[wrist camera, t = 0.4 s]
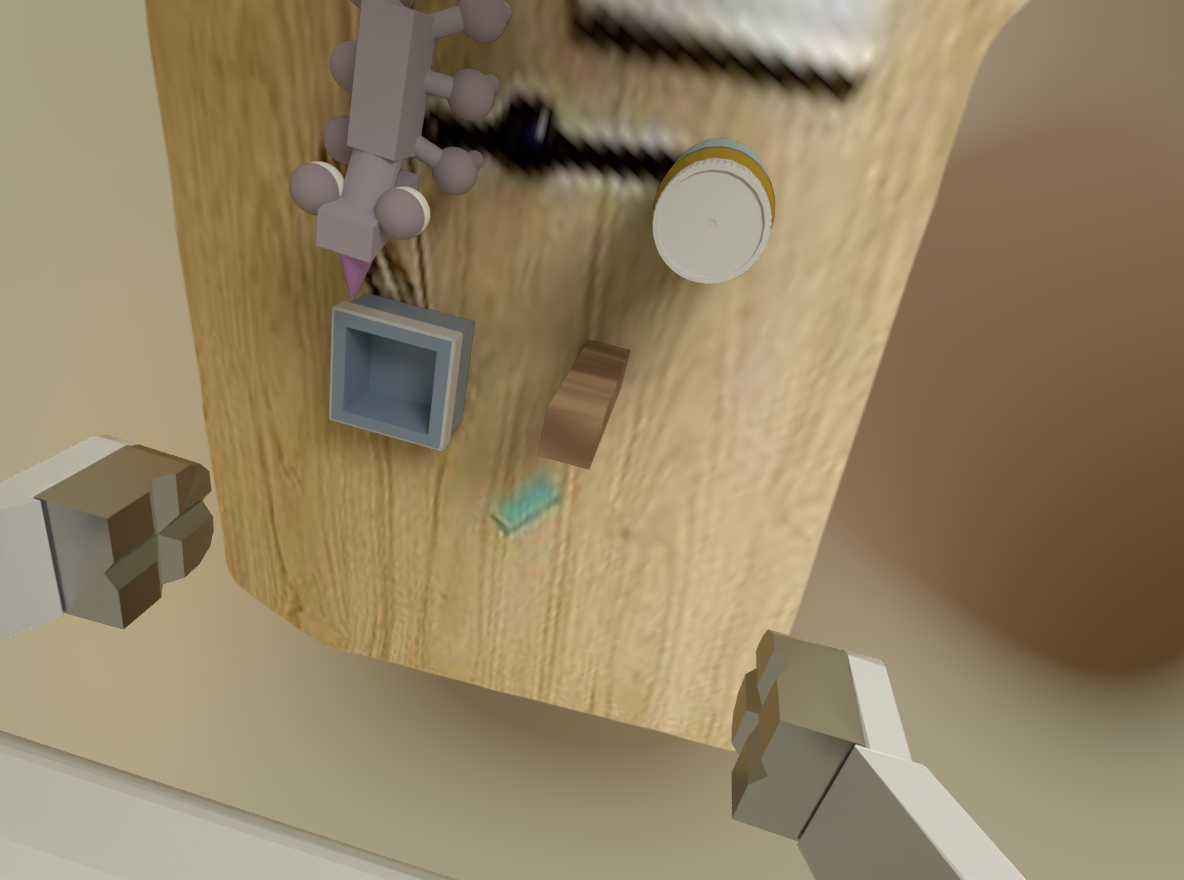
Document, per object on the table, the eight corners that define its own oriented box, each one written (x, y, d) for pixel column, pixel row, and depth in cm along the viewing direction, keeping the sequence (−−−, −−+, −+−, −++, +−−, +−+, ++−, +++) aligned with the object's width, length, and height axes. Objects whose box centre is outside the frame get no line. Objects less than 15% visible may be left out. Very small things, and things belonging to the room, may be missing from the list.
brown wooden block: (588, 339, 55) (546, 408, 43) (630, 350, 55) (600, 422, 43) (580, 378, 57) (537, 455, 45) (620, 389, 57) (589, 469, 45)
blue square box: (364, 288, 57) (330, 306, 52) (478, 319, 56) (455, 340, 52) (359, 395, 62) (327, 420, 57) (464, 424, 61) (441, 452, 56)
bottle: (705, 260, 51) (694, 317, 38) (648, 182, 49) (617, 213, 36) (787, 200, 48) (807, 238, 35) (730, 115, 47) (728, 121, 33)
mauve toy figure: (477, 287, 55) (407, 339, 43) (354, 244, 56) (250, 284, 44) (537, 5, 46) (467, -28, 34) (388, -44, 46) (267, -94, 34)
